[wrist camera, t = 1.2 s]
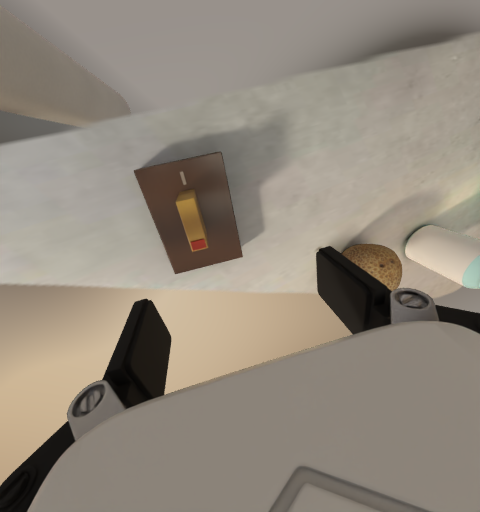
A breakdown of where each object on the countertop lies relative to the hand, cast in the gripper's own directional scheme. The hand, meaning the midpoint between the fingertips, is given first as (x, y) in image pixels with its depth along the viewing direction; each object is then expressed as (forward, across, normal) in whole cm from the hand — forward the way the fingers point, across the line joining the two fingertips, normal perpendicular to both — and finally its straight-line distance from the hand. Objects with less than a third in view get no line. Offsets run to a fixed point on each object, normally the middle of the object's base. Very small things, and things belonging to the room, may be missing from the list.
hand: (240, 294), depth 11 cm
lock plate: (+20, +3, 0) cm, 20 cm away
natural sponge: (+21, -21, +15) cm, 33 cm away
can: (+21, -36, +16) cm, 45 cm away
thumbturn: (+17, +3, -1) cm, 17 cm away
